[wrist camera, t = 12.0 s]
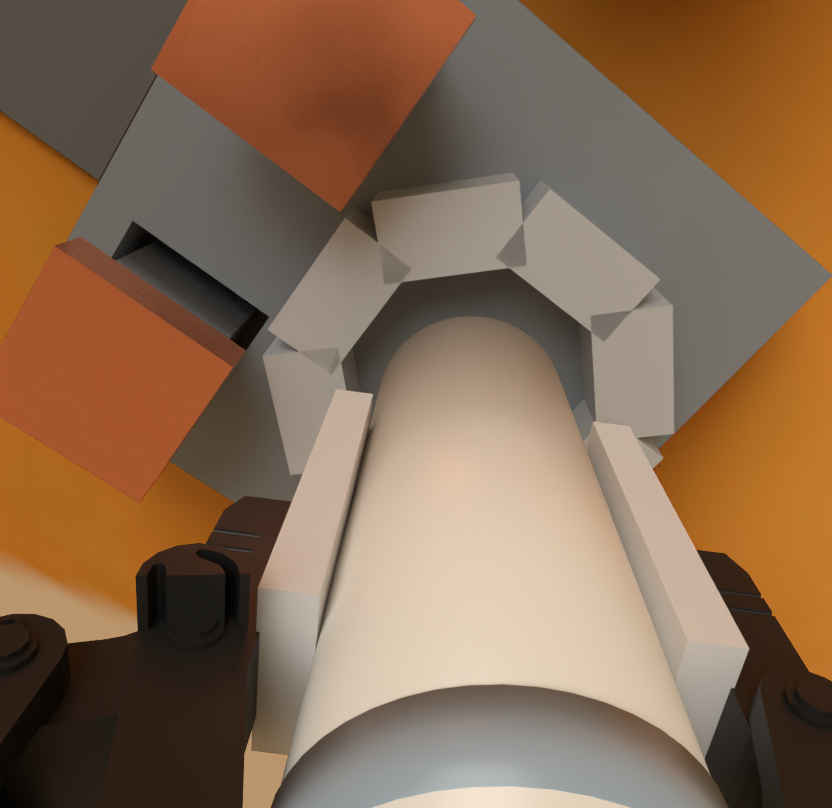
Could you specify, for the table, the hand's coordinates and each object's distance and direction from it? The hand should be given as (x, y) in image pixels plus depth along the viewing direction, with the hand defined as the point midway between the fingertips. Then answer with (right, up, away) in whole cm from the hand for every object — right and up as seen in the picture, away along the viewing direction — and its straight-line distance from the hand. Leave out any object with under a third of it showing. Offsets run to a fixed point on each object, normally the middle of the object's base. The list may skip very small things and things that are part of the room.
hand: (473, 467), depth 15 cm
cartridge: (0, +1, +3) cm, 3 cm away
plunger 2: (-3, +11, +5) cm, 12 cm away
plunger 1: (-8, +4, +8) cm, 12 cm away
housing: (-2, +6, +10) cm, 11 cm away
